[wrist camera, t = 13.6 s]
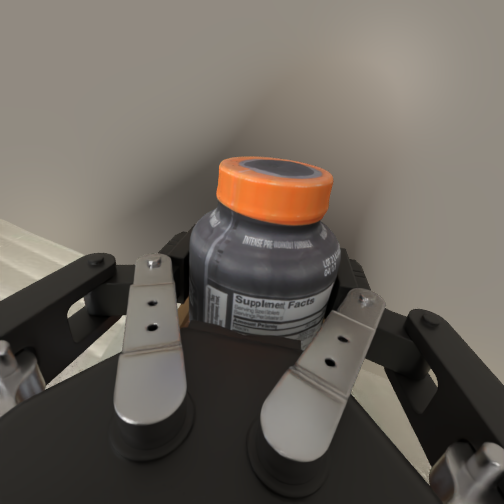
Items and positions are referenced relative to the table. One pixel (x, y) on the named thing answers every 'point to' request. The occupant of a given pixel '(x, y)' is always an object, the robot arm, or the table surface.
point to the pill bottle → (265, 250)
